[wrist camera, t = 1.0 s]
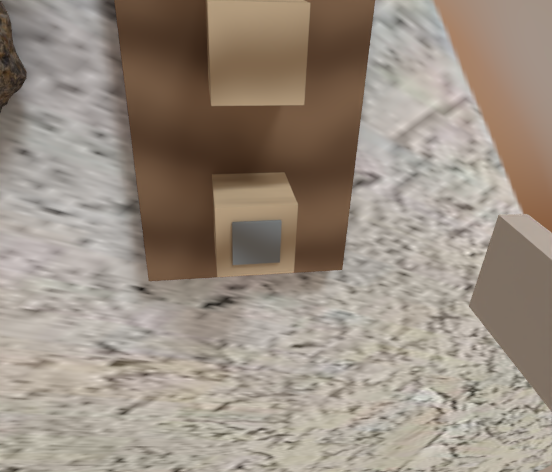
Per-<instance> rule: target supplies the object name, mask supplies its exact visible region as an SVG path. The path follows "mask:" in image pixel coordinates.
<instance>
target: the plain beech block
mask: <svg viewBox="0 0 552 472" xmlns="http://www.w3.org/2000/svg"><path fill="white" fill-rule="evenodd" d="M205 1H206V28H207V55H208V82H209V92H210V100H211V106H263V105H304V100H305V84H306V68H307V52H308V35H309V19H310V3H309V2H307V1H304V0H205Z"/></svg>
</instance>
